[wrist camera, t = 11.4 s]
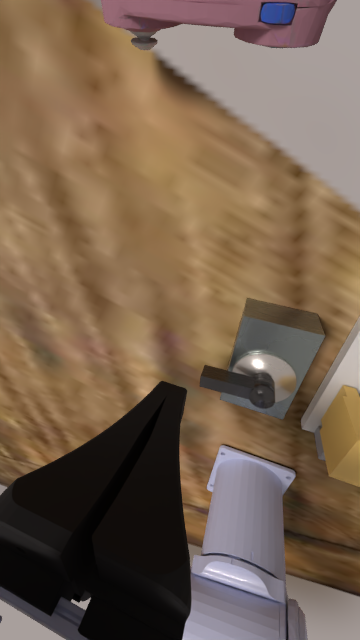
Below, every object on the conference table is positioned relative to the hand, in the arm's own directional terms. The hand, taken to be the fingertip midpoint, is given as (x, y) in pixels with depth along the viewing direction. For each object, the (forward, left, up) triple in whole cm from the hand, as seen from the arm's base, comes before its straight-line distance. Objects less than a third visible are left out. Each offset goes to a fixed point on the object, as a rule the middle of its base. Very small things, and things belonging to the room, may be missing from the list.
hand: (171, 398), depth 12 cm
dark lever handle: (-2, -3, -6) cm, 7 cm away
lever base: (-2, -5, -9) cm, 11 cm away
